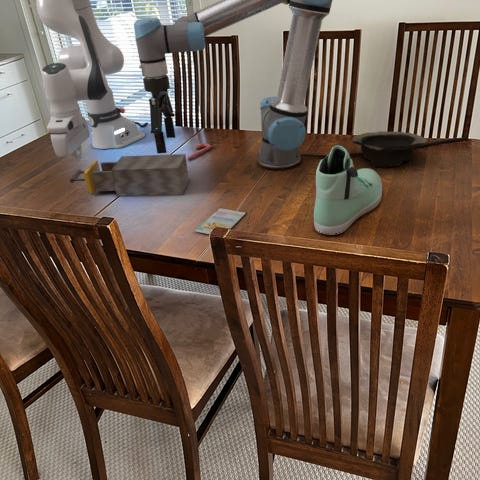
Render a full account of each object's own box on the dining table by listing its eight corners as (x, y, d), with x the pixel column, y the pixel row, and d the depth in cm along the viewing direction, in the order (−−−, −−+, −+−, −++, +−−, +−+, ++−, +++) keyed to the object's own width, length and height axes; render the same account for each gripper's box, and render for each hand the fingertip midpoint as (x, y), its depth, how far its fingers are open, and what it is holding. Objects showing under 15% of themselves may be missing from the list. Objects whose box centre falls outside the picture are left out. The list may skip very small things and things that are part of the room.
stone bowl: (385, 177, 154) (386, 150, 149) (337, 159, 174) (336, 134, 170) (441, 159, 162) (444, 132, 158) (389, 143, 183) (390, 119, 178)
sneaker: (389, 187, 148) (396, 123, 138) (356, 242, 123) (361, 168, 112) (346, 181, 154) (350, 119, 144) (306, 232, 129) (307, 161, 118)
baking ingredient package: (194, 230, 133) (219, 207, 144) (194, 231, 133) (219, 208, 144) (222, 235, 129) (246, 211, 141) (222, 237, 129) (246, 213, 141)
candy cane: (177, 158, 182) (177, 154, 181) (202, 145, 192) (201, 141, 191) (189, 161, 179) (189, 157, 178) (214, 147, 189) (213, 144, 188)
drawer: (70, 194, 159) (65, 173, 155) (82, 181, 167) (76, 161, 164) (149, 192, 156) (145, 171, 152) (156, 178, 165) (153, 158, 161)
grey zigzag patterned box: (117, 196, 157) (111, 169, 152) (127, 181, 167) (121, 156, 162) (182, 194, 155) (178, 167, 150) (188, 179, 164) (185, 153, 159)
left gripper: (70, 109, 160) (80, 149, 167) (44, 129, 142) (56, 172, 149) (88, 108, 159) (98, 148, 166) (64, 128, 141) (75, 172, 149)
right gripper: (153, 67, 152) (163, 132, 163) (131, 87, 131) (145, 160, 142) (176, 66, 151) (185, 131, 162) (158, 86, 130) (170, 159, 141)
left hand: (78, 160), depth 158 cm, fingers closed
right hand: (166, 144), depth 152 cm, fingers open, 13 cm apart
